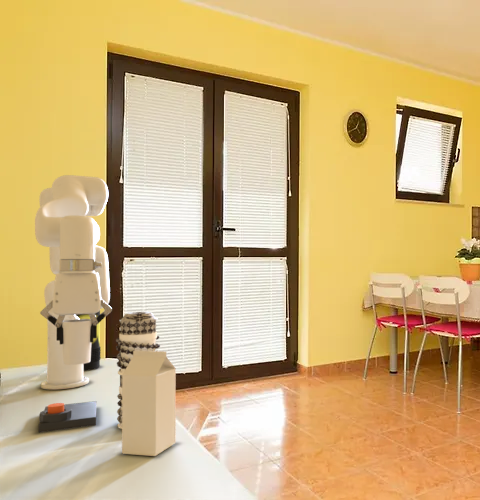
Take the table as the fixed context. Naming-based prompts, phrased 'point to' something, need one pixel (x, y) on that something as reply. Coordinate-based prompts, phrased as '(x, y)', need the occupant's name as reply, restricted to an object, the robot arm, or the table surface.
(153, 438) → the milk carton
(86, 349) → the white cup
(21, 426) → the table surface
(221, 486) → the table surface
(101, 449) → the table surface
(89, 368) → the container
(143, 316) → the decorative candle
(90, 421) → the scale
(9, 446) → the table surface
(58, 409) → the tare button
